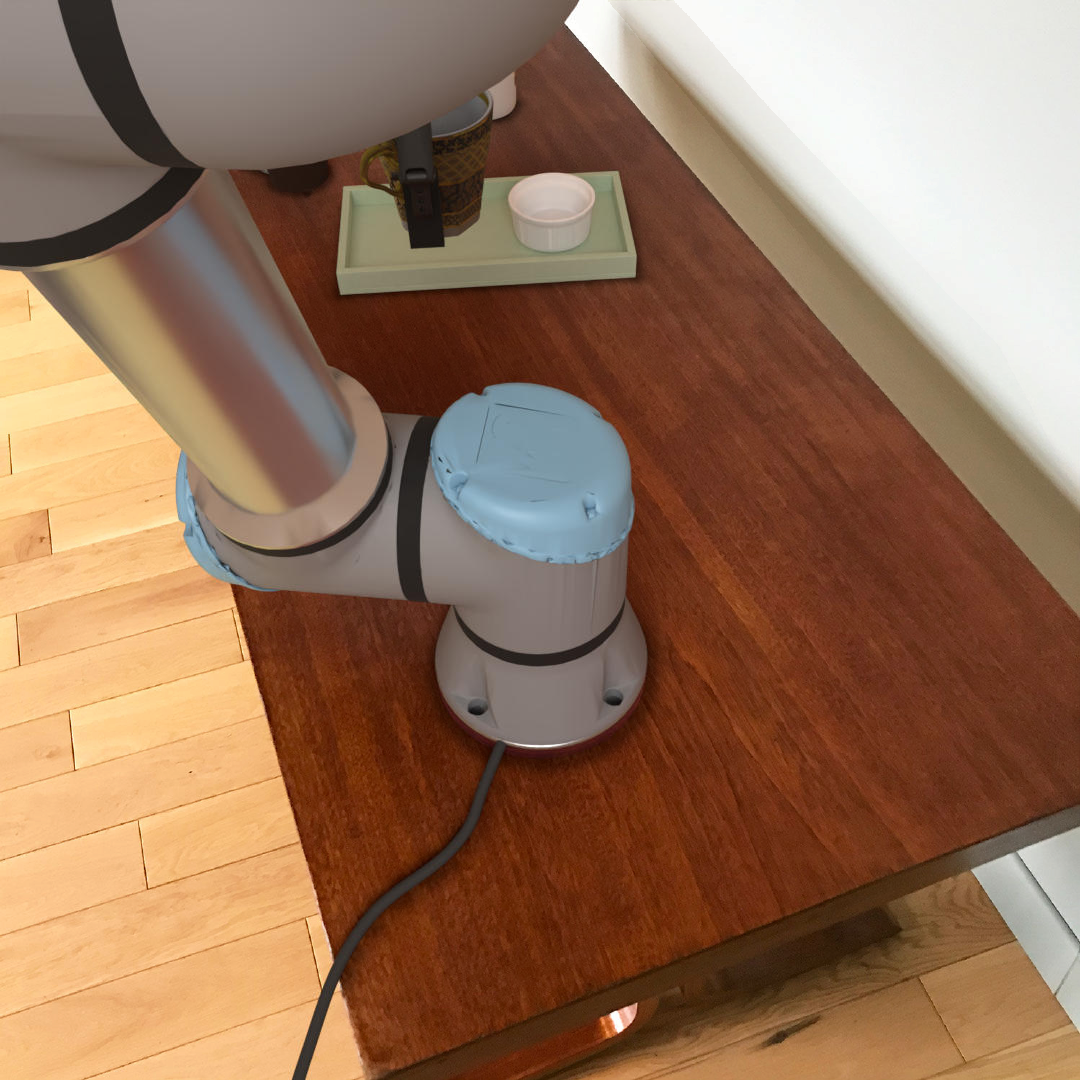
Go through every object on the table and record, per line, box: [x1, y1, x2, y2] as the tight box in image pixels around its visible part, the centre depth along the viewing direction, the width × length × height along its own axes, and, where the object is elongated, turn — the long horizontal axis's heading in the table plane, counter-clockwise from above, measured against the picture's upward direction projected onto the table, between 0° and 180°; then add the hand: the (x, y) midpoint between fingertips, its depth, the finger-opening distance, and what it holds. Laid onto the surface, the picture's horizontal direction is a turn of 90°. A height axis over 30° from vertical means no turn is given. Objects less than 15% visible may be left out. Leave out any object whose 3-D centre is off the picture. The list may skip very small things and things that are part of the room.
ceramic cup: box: [359, 90, 494, 238], centre depth 88 cm, size 13×10×10 cm
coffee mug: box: [267, 160, 329, 193], centre depth 123 cm, size 12×9×10 cm
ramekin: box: [508, 172, 595, 253], centre depth 115 cm, size 9×9×4 cm
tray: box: [335, 170, 638, 296], centre depth 116 cm, size 16×30×3 cm, turn 94°
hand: (427, 205), depth 92 cm, fingers closed on ceramic cup, 10 cm apart
